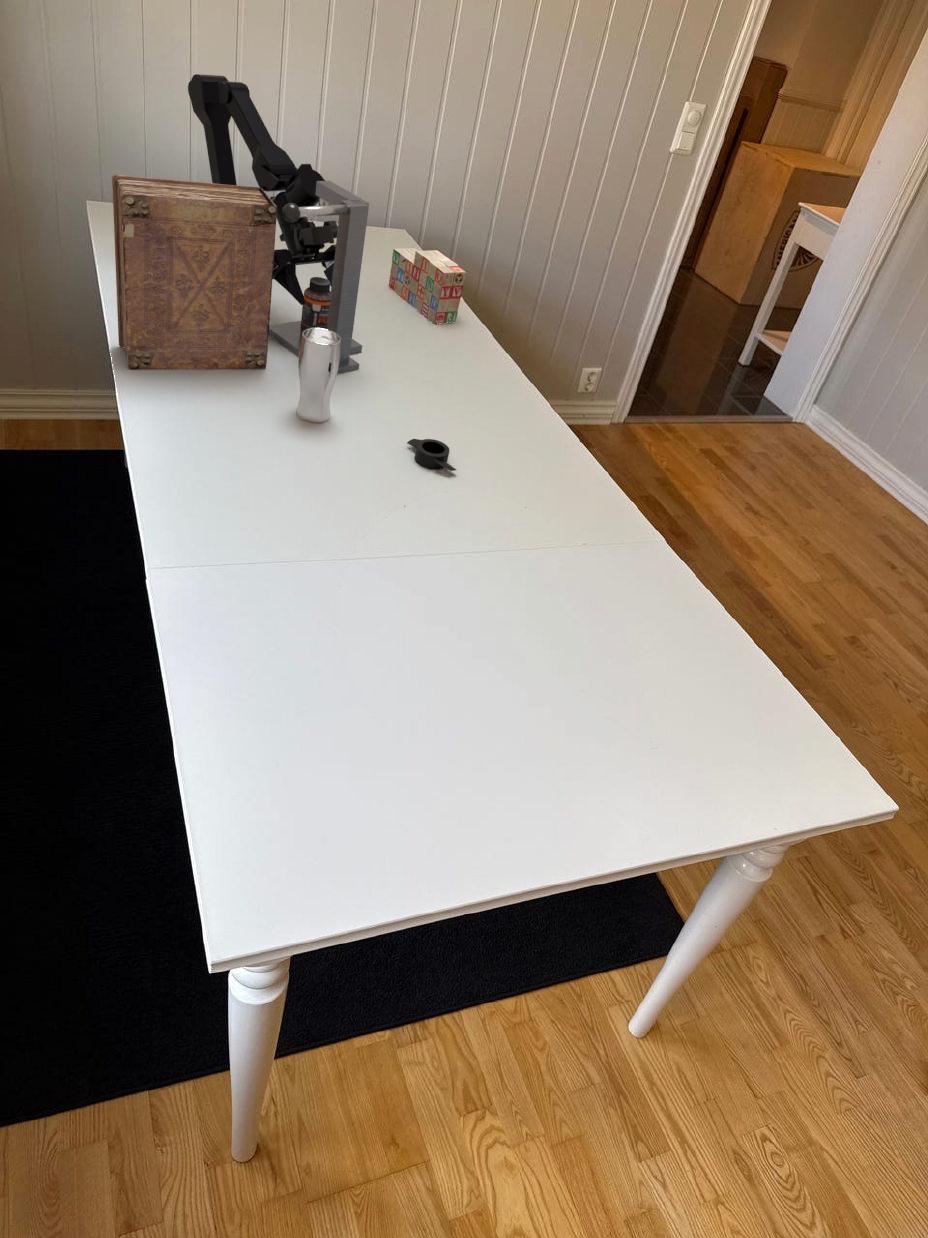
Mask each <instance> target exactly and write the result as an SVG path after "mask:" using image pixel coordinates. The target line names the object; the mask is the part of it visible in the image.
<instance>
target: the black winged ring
mask: <svg viewBox="0 0 928 1238" xmlns="http://www.w3.org/2000/svg"><path fill="white" fill-rule="evenodd" d="M406 444H407V445H410V446H411V447H413V448H414V449H415V452H414V453H415V454H414V461H415V463H416V464H417V465H419V466H420V467H422V468H425V469H428V470H433V471H434V470H435V471H436V470H437V471H438V470H442V469H446V470H448V471H449V472H453V471H457V469H456V468H455V467H454V466H452V465H451V464H449V462H448V460H449V455H450V447H449V446H448V445H447V444H446V443H445V442H443V441H440V440H437V439H434V438H433V439H431V438H426V439H425V438H424V439H418V438H413V439H410V440H408V441H407V442H406Z"/></svg>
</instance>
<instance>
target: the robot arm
mask: <svg viewBox="0 0 928 1238" xmlns="http://www.w3.org/2000/svg"><path fill="white" fill-rule="evenodd" d="M187 92H188V96H189V99H190V103H191V107H192V111H193V113H194V114H195V116H196V117H197V119H198V120H199V122H200V123H201V125H203V131H204V137H205V143H206V150H207V156H208V162H209V163H208V165H209V169H210V176H211V183H213V184H224V185H236V186H238V185H237V178H236V170H235V164H234V156H233V150H232V143H231V135H230V128H229V127H230V126H229V123H230V121H231V120H233V122H234V124H235V126H236V127H237V130H238V132H239V134H240V135H241V137H242V139H243V141H244V143H245V145H246V146H247V148H248V150H249V153H250V156H251V157H252V162H251V170H252V172H253V175H254V179H255V181H256V183H257V185H258V188H262V189H263V190H264V191H265V192H266V193H267V192H279V193H277V194H276V195H275V196H269V198H270V199H271V200H272V201H273V203H274V204H275V205H276V206H277V219H276V221H277V223H278V225H279V229H280V230H281V234H280V235H279V240H280V242H285V245H286V248H281V249H274V262H273V277H272V280H274V281H276V282H277V283H278V284H279V285H280V286H282V287H283V288H284V289H285V290H286V291H287V292H288V293H289V294H290V295H291V296H292V297H293V299H294V300H296V302H298V303H299V305H300V306H303V305H304V304H305V300H304V292H303V291H302V290H303V289H302V287H301V285H300V282H299V280H298V279H299V278H298V277H297V271H296V270H297V266H303V265H309V264H311V265H312V264H319V263H320V264H321V266H322V268H325V269H324V270H323V274H324V276H325V277H326V278H325V279H327V280H329V281H330V287H331V286H332V277H333V268H334V259H335V249H336V243H335V239H337V231H338V224H337V222H336V220H327V221H326V220H325V221H324V222H323V226H322V225H321V226H316V223H315V222H314V221H309V219H308V218H309V217H300V218H299V219H298V220H297V221H296V222H293V223H292V222H288V221H286V220H285V218H284V217H283V214H282V210H283V207H284V206H285V205H286V204H288V203H294V204H296V205H297V206H298V207H310V206H318V205H319V197H318V196H316V195H315V194H316V183H317V181H326V179H324V177H323V176H322V174H320V172H318V171H316V170H314V168H313V166H312V164H311V163H301V164H300V165H299V166H298V168H297V167H296V165H295V163H294V162H293V160H292V159H291V157H290V156H289V154H288V153H287V152H286V151H285V150H284V149H282V148H281V147H280V146H279V145H277V144H276V142H275V141H274V140H273V138H272V136H271V135H270V132H269V131H268V129H267V127H266V125H265V123H264V121H263V118H262V116H261V115H260V113H259V111H258V109H257V107H256V105H255V103H254V102H253V100H252V98H251V95H250V94H251V93H250V90H249V87H248V85H247V84H246V83H243V82H241V81H229V80H228V79H227V77H226V76H225V75H212V74H199V73H195V74H193V75H192V77H191V80H190V81H189V82H188V85H187ZM231 118H232V119H231ZM325 244H331V245H330V246H328V248H326V249H325V251H320V250H323V249H324V248H325V246H326V245H325Z"/></svg>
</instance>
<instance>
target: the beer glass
mask: <svg viewBox="0 0 928 1238" xmlns="http://www.w3.org/2000/svg"><path fill="white" fill-rule="evenodd" d="M340 341H341V338H340V336H339V335H338V334H337V333H335V332H333V331H331V330H328V329H324V328H307V329H305V330H304V331H303V332H302V338H301V343H300V349H299V357H298V361H297V362H298V363H297V366H298V378H299V379H298V380H299V389H300V390H299V400H298V402H297V403H298V404H297V406H296V410H295V411H296V412H295V413H296V415H297V417H298V418H300V419H301V420H303V421H305V422H308V423H313V424H315V423H316V424H321V423H325V422H327V421H328V420H330V419H331V407H330V405H331V404H330V401H331V395H332V391H333V388H334V385H335V381H336V378H337V375H338V374H337V372H338V367H339V360H340Z"/></svg>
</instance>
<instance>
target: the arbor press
mask: <svg viewBox="0 0 928 1238" xmlns="http://www.w3.org/2000/svg"><path fill="white" fill-rule="evenodd" d="M315 195H316V196H318V197H319V203H318V205H316V206H310V207H298V206H297V205H296V204H294V203H288V204H286V205H285V206H284V207H283V210H282V214H283V217H284V218H285V220H286V221H288V222H292V223H293V222H296V221H297V220H298V219H299V218H300V217H307V218H315V217H326V216H327V217H328V216H338V224H337V226H338V231H337V238H336V241H335V244H336V249H335V259H334V268H333V277H332V286H331V285H330V291H331V295H330V305H329V314H328V323H327V329H328V330H331V331H333V332H335V333H337V334H338V335H339V336H340V338H341V341H340V360H339V367H338V372H337V375H338V374H343V373H344V374H345V373H347V372H348V373H349V372H352V371H353V372H354V371H358V370H360V363H359V362H358V361H356V360H354V358H352V357H350V356H351V355H355V354H361V353H362V351H363V345H362V344H360V343H359V342H358V341H356V340H355V339H353V332H354V325H355V317H356V310H357V302H358V293H359V288H360V287H359V286H360V279H361V270H362V264H363V255H364V249H365V248H364V247H365V240H366V232H367V231H366V230H367V223H368V216H369V209H370V205H369V204H370V203H369V202H368V201H367V200H365V199H362V198H361V197H359V196H358V195H356V194H354V193H353V192H350V191H348V190H347V189H345V188H343V187H342V186H340V185H338V184H336V183H334V182H333V181H331V180H325V181H317V183H316V194H315ZM300 327H301V320H296V321H289V322H281V323H276V324H269V335H268V337H270V338H271V339H273V340H274V341H275V342H277V343H279V344H280V345H282V346H283V347H284V348H285V349H287V350H288V351H289V352H291V353H292V354H293V355H295V356H296V357H297V358H299V349H300V343H301V338H302V334H301V332H300Z"/></svg>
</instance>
